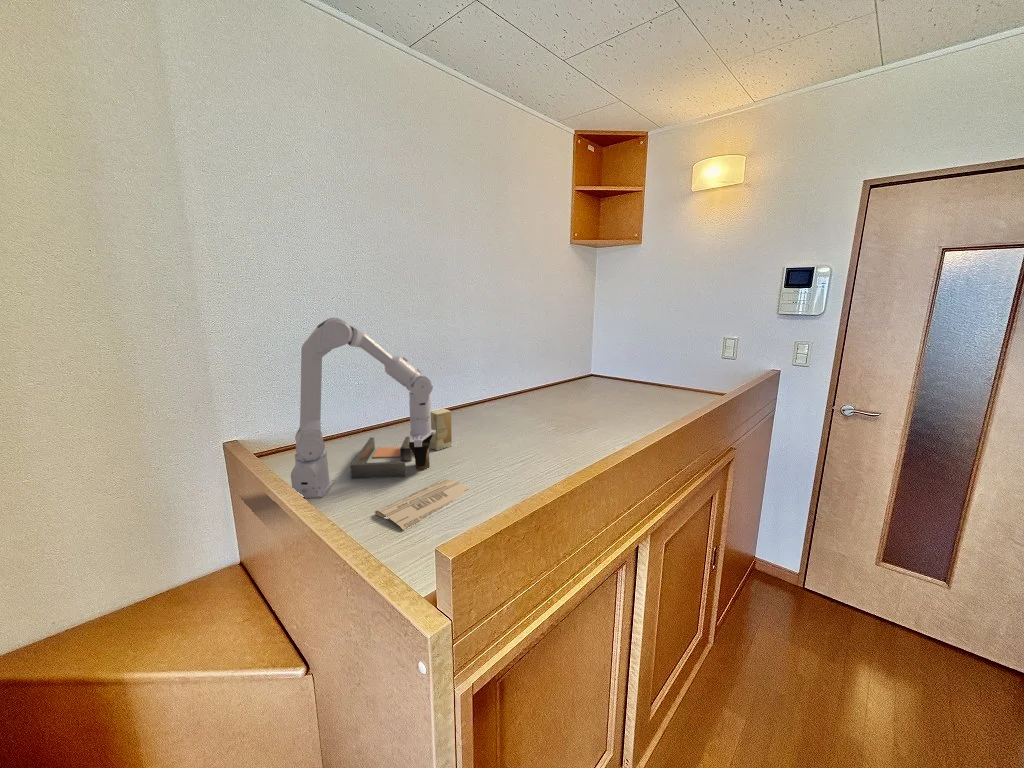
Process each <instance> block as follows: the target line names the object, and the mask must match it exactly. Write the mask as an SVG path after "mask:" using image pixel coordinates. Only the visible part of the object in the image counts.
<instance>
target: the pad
mask: <svg viewBox="0 0 1024 768" xmlns="http://www.w3.org/2000/svg"><path fill="white" fill-rule="evenodd" d="M400 448H401V446H386V447H385V446H383V447H380V446H379V447H378V448H377V449H375V451H374V452H375V453H374V454H372V455H373V456H372V457H371V458H372V459H386V458H387V459H390V458H394V459H395V458H401V453H400Z"/></svg>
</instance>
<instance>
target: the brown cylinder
mask: <svg viewBox="0 0 1024 768" xmlns="http://www.w3.org/2000/svg"><path fill="white" fill-rule="evenodd" d="M414 463H415V467H414V468H415V469H416V470H417V471H425V470H424V469H427V468H429V467H431V466H430V447H429V448H428V450H427V455H426V463H425V466H417V464H416V461H415V460H414ZM429 469H430V468H429ZM427 470H428V469H427Z"/></svg>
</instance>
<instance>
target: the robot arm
mask: <svg viewBox="0 0 1024 768" xmlns="http://www.w3.org/2000/svg"><path fill="white" fill-rule="evenodd" d="M345 345H349V347H354V348H360V349H362V350H364V351H365V352H366V353H367V354H369V355H370V356H372V357H373V358H374V359H376V360H377V361H378V362H380V363H381V364H383V365H384V372H385V373H386V374H387V375H389V376H390V377H391V378H392V379H394V381H396V382H397V383H399V384H400V385H402V386H403V387H404V388H406V390H407V391H408V394H409V395H408V396H409V401H408V403H409V421H410V422H409V423H410V425H409V426H410V431H409V435H410V438H411V439H412V440H413V441H410V443H409V447H410V449H411V453H412V454H413V456H414V462H415V461H416V464H417V466H425V463H426V455H427V450H428V448H429V449H430V447H429V446H430V440H431V438H432V436H433V434H435V433H436V430H431V410H432V409H431V397H430V396H431V393H432V391H433V387H434V385H432V381H431V380H430V379H429V377H427V376H425V375H423V374H422V370H420V369H419V368H415V367H414V366H413V365H411V364H410V363H409V362H408V361H409V359H408V358H406V357H405V356H400V355H394V356H393V355H391V354H390V353H389V352H388V351H386V349H384V348H383V347H382V346H380V345H379V344H378V343H377V342H376V341H374V340H373V339H372V338H371V337H370V336H368V335H367V334H366V333H365V332H363V331H361V330H360V329H358V328H356V327H355V326H352V325H350V324H349V323H348V322H347V321H345V320H343V319H341V318H338V317H330V318H327V319H326V320H324V321H322V322H321V323H319V324H317V326H316V327H315V328H314V330H313V331H312V332H311V334H310V335H309V336H308V338H307V339H306V340H305V342H303V343H302V346H301V349H300V350H301V351H300V352H301V353H300V358H301V359H300V360H301V361H300V365H301V366H300V401H299V402H300V404H299V405H300V408H299V411H300V412H299V414H300V415H299V426H298V429H297V431H296V434H295V437H294V438H295V444H296V445H295V451H296V453H295V454H294V461H295V463H294V464H295V465H294V466H293V469H292V470H291V472H290V479H291V480H290V481H291V489H292V488H294V489H295V490H296V491H297V492H299V493H300V494H302V495H303V496H304V497H305V498H306V499H308V498H309V499H310V498H314V499H315V498H323V497H324V496H325V495H326V494H327V492H328V491H329V490H330V489H331V487H332V486H333V485H334V483H335V481H336V479H335V478H330V474H329V473H330V472H329V463H328V454H327V453H328V452H327V450H326V445H325V442H324V440H323V439H324V437H323V432H322V428H321V424H322V423H321V422H322V421H321V411H322V377H323V376H322V375H323V374H322V373H323V371H322V369H323V357H325V356H326V355H327V354H328V353H330V352H331V351H332V350H335V349H338V348H339V347H340V348H341V347H342V346H345ZM305 498H304V499H305Z"/></svg>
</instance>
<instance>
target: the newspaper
mask: <svg viewBox="0 0 1024 768" xmlns="http://www.w3.org/2000/svg"><path fill="white" fill-rule="evenodd" d="M441 481H442V482H441ZM438 482H440V483H438ZM471 489H472V488H470V487H468V486H466V485H464V484H463V483H461V482H459V481H457V480H454V479H453V478H446V479H445V480H443V479H440V480H438V481H436V482H433V483H432V484H430V485H427V486H426V487H424V488H421V489H419V490H418V491H416V492H413V493H410V494H409V495H406V497H404V498H401V499H399V500H398V501H397V500H396V501H394V502H392V503H390V504H388V505H386V506H383V507H382V508H380V509H376V510H375V511H374V514H375V515H376V516H378V517H380V518H382V517H383V518H384V517H386V516H387V517H388V518H390V519H389V520H391V521H392V522H394V524H396V525H398V526H399V527H400V528H401V529H402V531H403V530H405V529H407V528H408V527H410V526H412V525H414V524H416V523H418V522H420V521H421V520H422V519H424V518H426V517H427V516H429V515H431V514H432V513H434V512H437V511H438V510H440V509H442V508H443V507H444V506H447V505H448V504H449V503H450V502H453V501H454V500H455V499H456V498H458V497H460V496H462V495H463V494H465V493H466V492H467V491H469V490H471ZM383 518H382V519H383ZM407 530H408V529H407ZM405 531H406V530H405Z"/></svg>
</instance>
